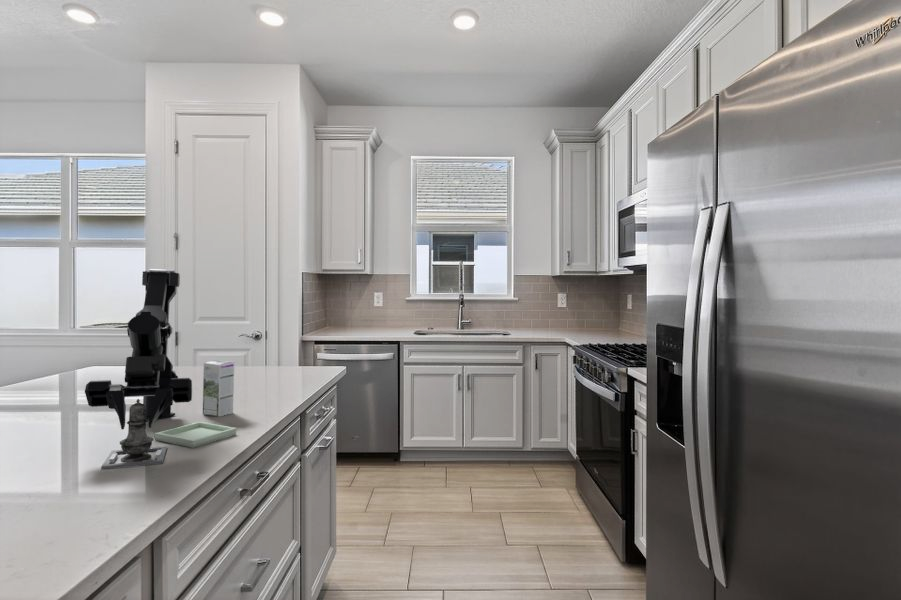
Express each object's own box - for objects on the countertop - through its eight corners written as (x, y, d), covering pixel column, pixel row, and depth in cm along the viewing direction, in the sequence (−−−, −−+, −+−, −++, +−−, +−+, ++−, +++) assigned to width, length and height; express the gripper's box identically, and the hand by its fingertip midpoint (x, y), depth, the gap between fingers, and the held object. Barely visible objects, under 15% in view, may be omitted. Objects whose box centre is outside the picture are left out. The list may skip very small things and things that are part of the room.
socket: (111, 453, 103) (111, 449, 103) (167, 448, 107) (167, 444, 107) (101, 469, 94) (101, 464, 94) (162, 463, 98) (162, 459, 98)
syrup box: (234, 413, 140) (235, 361, 140) (217, 417, 134) (219, 363, 134) (217, 410, 142) (219, 359, 141) (201, 415, 136) (202, 362, 136)
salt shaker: (136, 464, 97) (138, 403, 97) (111, 461, 98) (113, 400, 98) (160, 455, 103) (161, 397, 103) (135, 452, 104) (137, 395, 104)
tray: (154, 439, 113) (154, 433, 113) (199, 427, 124) (199, 421, 124) (193, 447, 108) (193, 440, 108) (236, 434, 119) (236, 428, 119)
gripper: (88, 341, 100) (71, 408, 90) (193, 340, 108) (188, 402, 98) (96, 373, 107) (81, 439, 97) (193, 371, 115) (189, 431, 105)
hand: (136, 427), depth 99 cm, fingers open, 4 cm apart
